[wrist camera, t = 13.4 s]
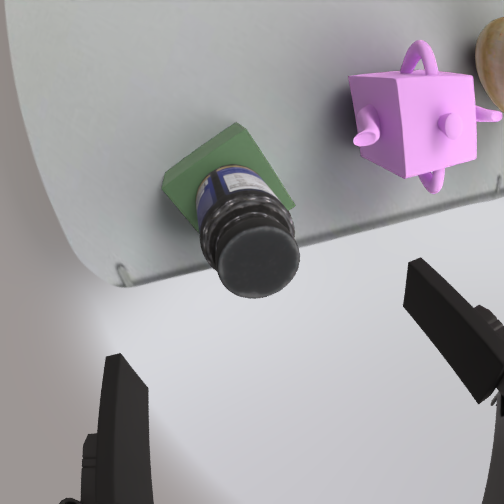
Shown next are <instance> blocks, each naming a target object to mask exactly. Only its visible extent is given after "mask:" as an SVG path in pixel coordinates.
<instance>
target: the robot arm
mask: <svg viewBox="0 0 504 504" xmlns="http://www.w3.org/2000/svg"><path fill="white" fill-rule="evenodd" d="M403 307H404V308H405V309H406V310H407V312H408V313H409V314H410V315H411V316H412V318H413V319H414V320H415V321H416V323H417V324H418V325H419V326H420V327H421V329H422V330H423V331H424V332H425V334H426V335H427V336H428V337H429V339H430V340H431V341H432V343H433V344H434V345H435V346H436V348H437V349H438V350H439V352H440V353H441V354H442V355H443V357H444V358H445V359H446V360H447V362H448V363H449V365H450V366H451V367H452V368H453V370H454V371H455V372H456V374H457V375H458V377H459V378H460V379H461V381H462V382H463V383H464V385H465V386H466V387H467V389H468V390H469V392H470V393H471V394H472V396H473V397H474V399H475V400H476V402H477V403H478V404H480V403H481V402H482V401H484V400H485V399H486V398H488V397H489V396H490V395H491V394H492V393H493V391H494V390H495V388H497V389H498V390H499V392H498V393H497V394H496V396H495V397H494V398H493V400H492V402H491V406H493V405H494V403H495V402H496V401H497V404H496V406H497V411H496V423H495V433H494V442H493V449H492V456H491V463H490V469H489V474H488V479H487V484H486V488H485V493H484V497H483V501H482V504H504V326H503V324H502V323H501V322H500V321H499V320H497V318H496V317H495V315H493V313H492V312H491V311H490V310H488V309H486V308H484V307H483V306H481V305H478V306H476V307H475V308H473V307H472V306H471V305H470V304H469V303H468V302H467V301H466V300H465V299H464V298H463V297H462V296H461V295H460V294H459V293H458V292H457V291H456V290H455V289H454V288H453V287H452V286H451V285H450V284H449V283H448V282H447V281H446V280H445V279H444V278H443V277H442V276H441V275H439V274H438V273H437V272H436V271H435V270H434V269H433V268H432V267H431V266H430V265H429V264H428V263H427V262H425V261H424V260H423V259H422V258H418V259H416V260H413V261H411V262H409V263H408V270H407V279H406V288H405V295H404V303H403ZM148 412H149V411H148V387H147V386H146V385H145V384H144V383H143V381H142V380H141V379H140V377H139V376H138V375H137V374H136V372H135V371H134V370H133V369H132V367H131V366H130V365H129V363H128V362H127V361H126V360H125V358H124V357H123V356H122V354H121V353H119V354H115V355H111V356H107V357H106V360H105V367H104V374H103V381H102V389H101V398H100V407H99V418H98V430H97V433H96V434H88V436H87V438H86V440H85V443H84V445H83V459H82V467H83V468H82V475H81V501H78V500H75V499H73V498H65V499H64V500H62V501H61V502H60V503H59V504H154V502H153V492H152V480H151V466H150V446H149V415H148Z"/></svg>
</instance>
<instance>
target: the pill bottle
mask: <svg viewBox="0 0 504 504" xmlns="http://www.w3.org/2000/svg"><path fill="white" fill-rule="evenodd" d="M196 209H197V218H198V226H199V234H200V243H201V248H202V251H203V254H204V256H205V258H206V260H207V261H208V263H209V264H210V265H211V267H212V268H213V269H215V270H216V271H217V272H218V275H219V278H220V280H221V282H222V283H223V285H224V286H225V287H226V288H227V289H228V290H229V291H230V292H232V293H234V294H235V295H237V296H240V297H245V298H263V297H267V296H269V295H272V294H274V293H276V292H278V291H280V290H281V289H283V288H284V287H285V286H286V285H287V284H288V283H289V282H290V281H291V280H292V279H293V277H294V276H295V274H296V272H297V270H298V266H299V262H300V253H299V248H298V245H297V243H296V241H295V239H294V237H295V236H294V234H295V230H294V224H293V221H292V217H291V215H290V213H289V211H288V210H287V209H286V207H285V206H284V205H283V204H282V203H281V201H280V200H279V199H278V198H277V196H276V195H275V194H274V193H273V191H272V190H271V189H270V188H269V187H268V186H267V184H266V183H265V182H264V181H263V180H262V178H261V177H260V176H259V175H258V173H256V172H255V171H253V170H252V169H250V168H248V167H246V166H242V165H237V164H230V165H225V166H221V167H219V168H217V169H215V170H214V171H212V172H210V173H209V174H208V175H206V176H205V178H204V179H203V180H202V182H201V184H200V185H199V187H198V190H197V195H196Z"/></svg>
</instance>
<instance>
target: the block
mask: <svg viewBox="0 0 504 504" xmlns="http://www.w3.org/2000/svg"><path fill="white" fill-rule="evenodd" d="M230 164H237V165H242V166H246V167H248V168H250V169H252V170H253V171H255V172H256V173H258V175H259V176H260V177H261V178H262V180H263V181H264V182H265V183H266V184H267V186H268V187H269V188H270V189H271V190H272V191H273V193H274V194H275V195H276V196H277V198H278V199H279V200H280V201H281V203H282V204H283V205H284V206H285V207H286V209H287V210H288V211H289V210H290V209H292V208H293V207H295V204H294V202H293V201H292V199H291V197H290V196H289V194H288V193H287V191H286V189H285V188H284V186H283V185H282V183H281V182H280V180H279V178H278V177H277V175H276V174H275V172H274V170H273V169H272V167H271V166H270V164H269V163H268V161H267V160H266V158H265V157H264V155H263V154H262V152H261V150H260V149H259V147H258V146H257V144H256V143H255V141H254V140H253V138H252V137H251V135H250V134H249V132H248V131H247V129H245V128H244V127H243V126H241V125H240V124H238V123H237V122H236V123H234V124H233V125H231V126H230V127H228V128H227V129H225V130H224V131H222V132H221V133H219V134H218V135H216V136H215V137H214V138H212V139H211V140H209V141H208V142H206V143H205V144H203V145H202V146H201V147H199V148H198V149H196V150H195V151H194V152H192V153H191V154H189V155H188V156H187V157H185V158H184V159H183V160H181V161H180V162H179V163H177V164H176V165H175V166H173V167H172V168H171V169H169V170H168V171H167V172H165V175H164V179H163V184H162V190H163V191H164V192H165V194H166V195H167V196H168V197H169V198H170V200H171V201H172V202H173V203H174V204H175V206H176V207H177V208H178V209H179V210H180V212H181V213H182V214H183V215H184V216H185V217H186V219H187V220H188V221H189V222H190V223H191V225H192V226H193V227H194V228H195V229H196V230H197V232H198V233H199V226H198V218H197V209H196V195H197V190H198V187H199V185H200V184H201V182H202V180H203V179H204V178H205V176H206V175H208V174H209V173H210V172H212V171H214V170H215V169H217V168H219V167H221V166H225V165H230Z"/></svg>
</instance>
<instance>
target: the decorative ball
mask: <svg viewBox="0 0 504 504" xmlns="http://www.w3.org/2000/svg"><path fill="white" fill-rule="evenodd" d="M475 62H476V68H477V73H478V76H479V79H480V82H481V84H482V86H483V87H484V89H485V91H486V93H487V95H488V96H489V98H490V99H491V100H492V102H493V103H494V104H495V105H496V106H497V107H498V108H499V109H500V110H501V111H502V112H503V113H504V17H501V18H498V19H496V20H493V21H491V22H490V23H489V24H488V25H486V27H485V28H484V29H483V30H482V32H481V33H480V35H479V37H478V40H477V43H476V48H475Z"/></svg>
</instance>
